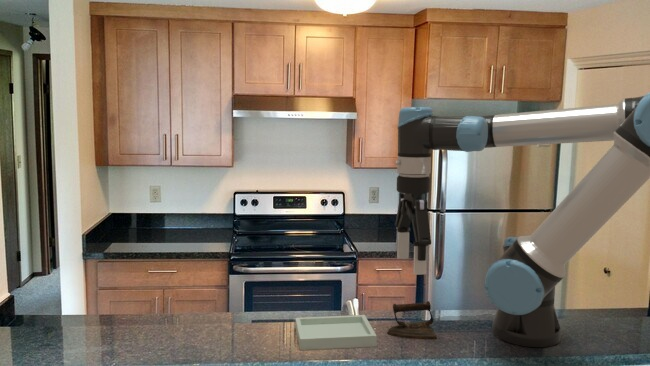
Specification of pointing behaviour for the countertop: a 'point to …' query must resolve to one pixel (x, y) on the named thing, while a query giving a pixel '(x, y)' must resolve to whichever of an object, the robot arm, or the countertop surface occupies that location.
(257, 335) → the countertop surface
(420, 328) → the clothes iron
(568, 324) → the countertop surface
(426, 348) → the countertop surface
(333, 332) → the iron rest
